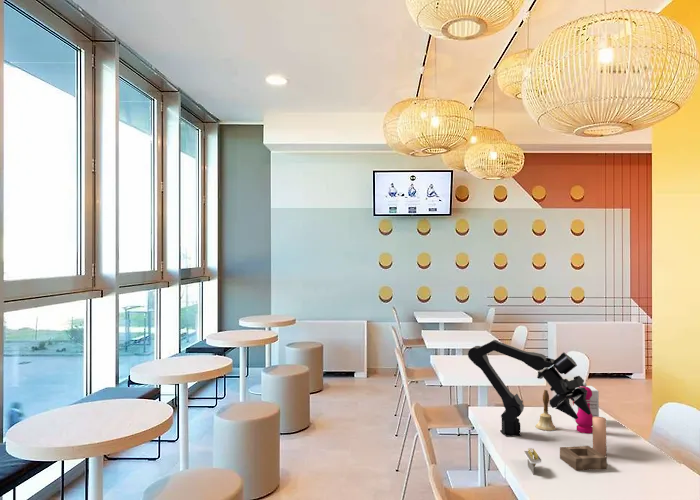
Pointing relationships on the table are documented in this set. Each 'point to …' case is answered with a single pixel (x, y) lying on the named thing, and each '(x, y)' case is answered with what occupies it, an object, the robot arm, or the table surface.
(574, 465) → the socket
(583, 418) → the pepper mill
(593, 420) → the peg
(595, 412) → the supplement box
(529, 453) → the platform
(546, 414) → the hand bell
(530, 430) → the table surface
